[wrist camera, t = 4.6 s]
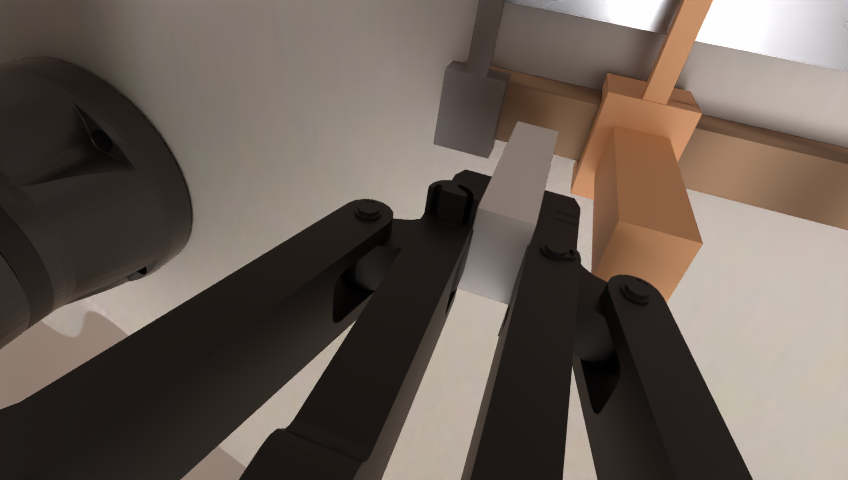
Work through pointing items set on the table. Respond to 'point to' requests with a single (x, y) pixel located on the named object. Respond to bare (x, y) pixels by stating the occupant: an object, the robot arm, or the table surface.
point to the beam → (699, 163)
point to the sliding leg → (644, 166)
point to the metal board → (736, 24)
